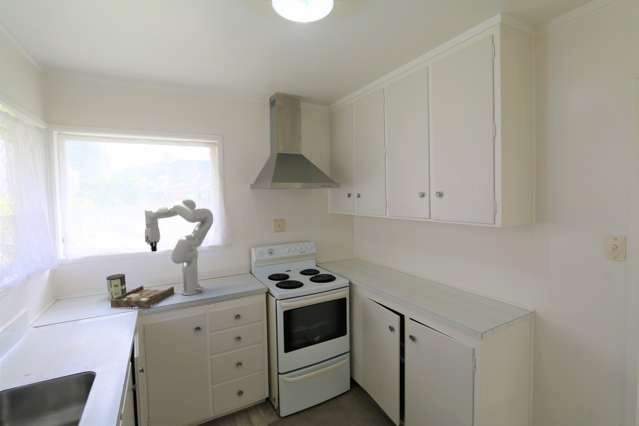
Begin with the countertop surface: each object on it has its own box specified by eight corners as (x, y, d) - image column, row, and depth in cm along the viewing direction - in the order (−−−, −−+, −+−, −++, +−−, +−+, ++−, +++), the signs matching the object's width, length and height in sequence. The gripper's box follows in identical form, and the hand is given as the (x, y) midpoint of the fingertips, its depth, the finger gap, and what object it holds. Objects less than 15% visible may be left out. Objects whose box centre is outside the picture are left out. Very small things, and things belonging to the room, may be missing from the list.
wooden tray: (174, 293, 198) (173, 286, 197) (146, 308, 173) (146, 301, 172) (142, 292, 201) (141, 285, 201) (111, 307, 177) (110, 300, 176)
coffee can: (122, 292, 201) (120, 273, 200) (129, 295, 196) (128, 275, 195) (105, 297, 193) (103, 277, 191) (112, 300, 187) (110, 279, 186)
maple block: (140, 300, 181) (139, 294, 181) (133, 303, 176) (133, 297, 176) (133, 299, 182) (132, 293, 182) (126, 303, 177) (126, 296, 177)
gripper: (154, 224, 212) (156, 249, 214) (139, 227, 198) (141, 253, 199) (164, 224, 211) (166, 249, 213) (149, 227, 196) (151, 253, 198)
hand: (154, 251), depth 206 cm, fingers closed
